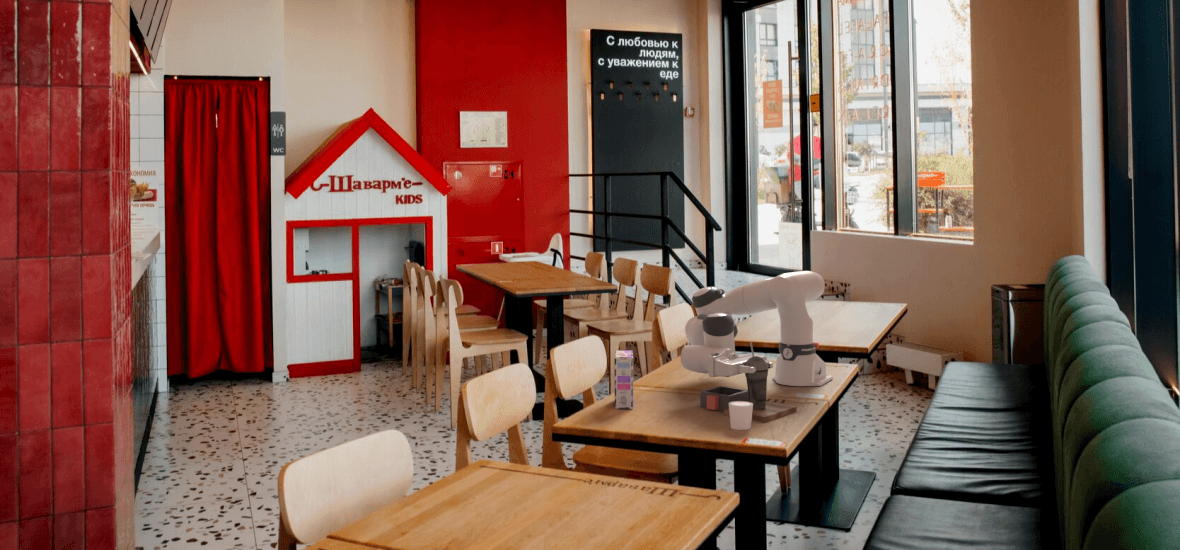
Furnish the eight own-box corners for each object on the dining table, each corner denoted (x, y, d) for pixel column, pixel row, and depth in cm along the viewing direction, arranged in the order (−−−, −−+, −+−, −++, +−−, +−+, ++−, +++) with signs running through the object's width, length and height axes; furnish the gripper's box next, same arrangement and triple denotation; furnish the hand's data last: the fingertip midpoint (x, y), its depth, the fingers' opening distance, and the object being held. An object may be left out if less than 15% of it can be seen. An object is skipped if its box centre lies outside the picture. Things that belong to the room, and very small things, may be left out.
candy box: (633, 409, 281) (632, 357, 279) (614, 409, 281) (613, 357, 280) (633, 399, 295) (633, 349, 293) (615, 399, 295) (615, 349, 294)
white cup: (740, 431, 253) (741, 407, 252) (723, 427, 258) (723, 402, 258) (758, 427, 257) (758, 403, 256) (740, 423, 262) (740, 399, 262)
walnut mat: (757, 404, 285) (757, 399, 285) (796, 411, 276) (796, 406, 276) (724, 414, 272) (724, 410, 272) (764, 422, 263) (764, 417, 263)
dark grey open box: (720, 401, 291) (720, 385, 290) (749, 406, 283) (749, 390, 283) (696, 408, 281) (696, 392, 281) (725, 413, 274) (725, 397, 273)
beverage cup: (770, 409, 270) (767, 343, 269) (745, 410, 272) (742, 344, 270) (770, 404, 278) (767, 339, 276) (745, 405, 279) (742, 340, 278)
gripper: (743, 367, 290) (781, 373, 280) (705, 377, 275) (744, 383, 265) (744, 348, 289) (781, 352, 280) (705, 356, 274) (744, 362, 265)
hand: (763, 367), depth 272 cm, fingers open, 8 cm apart
